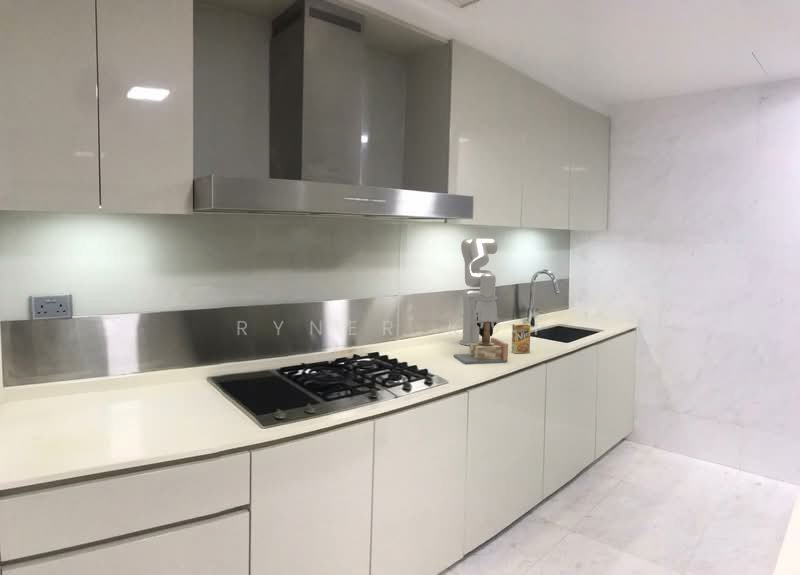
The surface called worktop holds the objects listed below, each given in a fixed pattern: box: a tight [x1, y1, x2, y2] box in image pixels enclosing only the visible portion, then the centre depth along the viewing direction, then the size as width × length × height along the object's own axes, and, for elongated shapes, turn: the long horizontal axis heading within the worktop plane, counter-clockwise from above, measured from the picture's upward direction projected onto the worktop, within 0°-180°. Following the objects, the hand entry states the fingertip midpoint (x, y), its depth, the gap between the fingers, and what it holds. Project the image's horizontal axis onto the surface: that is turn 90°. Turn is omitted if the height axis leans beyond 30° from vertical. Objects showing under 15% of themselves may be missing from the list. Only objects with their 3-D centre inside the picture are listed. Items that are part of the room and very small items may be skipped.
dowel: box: [481, 321, 491, 344], centre depth 249 cm, size 4×4×12 cm
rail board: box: [453, 337, 509, 365], centre depth 250 cm, size 16×22×9 cm
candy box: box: [511, 323, 531, 354], centre depth 268 cm, size 9×4×15 cm, turn 107°
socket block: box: [468, 341, 502, 360], centre depth 250 cm, size 12×12×6 cm
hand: (485, 335), depth 250 cm, fingers closed on dowel, 4 cm apart
